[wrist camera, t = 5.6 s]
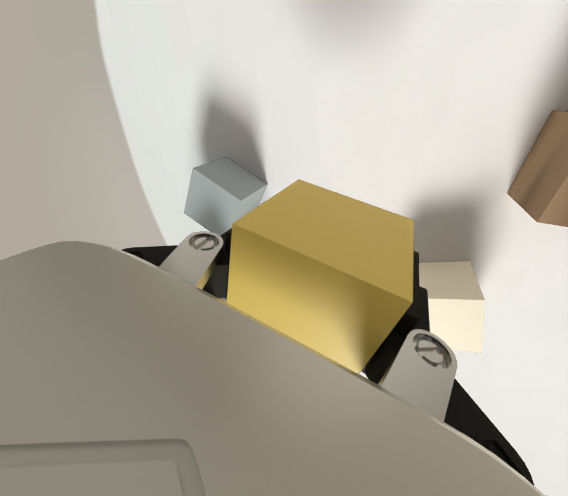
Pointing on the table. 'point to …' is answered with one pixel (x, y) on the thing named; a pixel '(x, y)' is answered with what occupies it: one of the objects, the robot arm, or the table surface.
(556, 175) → the walnut cube
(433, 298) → the cream cube
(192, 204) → the slate cube
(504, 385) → the table surface
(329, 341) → the mustard cube
